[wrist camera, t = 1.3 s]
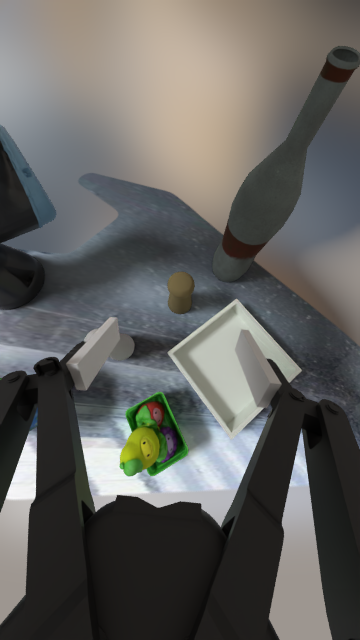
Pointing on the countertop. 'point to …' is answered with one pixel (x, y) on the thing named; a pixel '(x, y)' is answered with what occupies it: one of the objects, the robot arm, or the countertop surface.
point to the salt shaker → (118, 346)
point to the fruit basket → (152, 438)
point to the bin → (227, 365)
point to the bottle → (279, 174)
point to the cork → (180, 292)
